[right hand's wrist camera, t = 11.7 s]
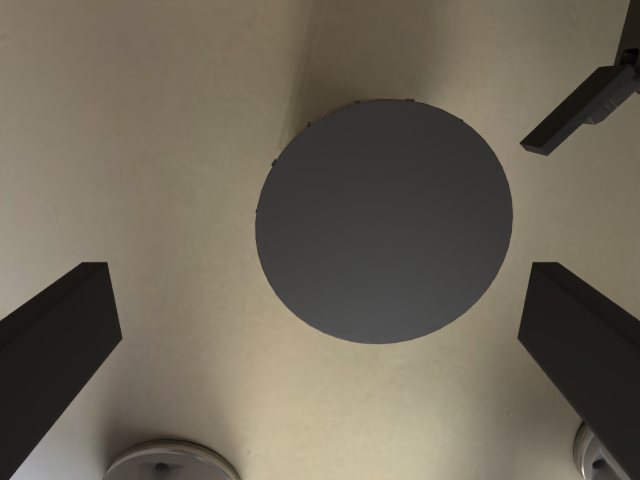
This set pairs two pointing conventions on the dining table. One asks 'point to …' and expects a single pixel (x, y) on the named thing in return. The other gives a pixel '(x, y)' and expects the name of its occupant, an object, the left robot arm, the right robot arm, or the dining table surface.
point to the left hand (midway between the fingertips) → (464, 75)
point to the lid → (383, 221)
